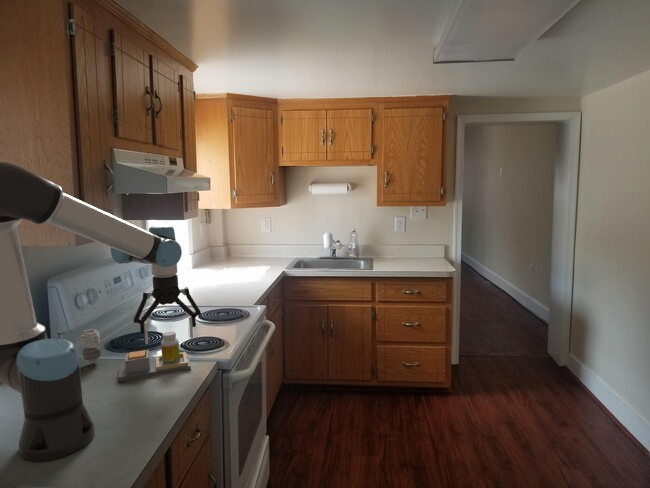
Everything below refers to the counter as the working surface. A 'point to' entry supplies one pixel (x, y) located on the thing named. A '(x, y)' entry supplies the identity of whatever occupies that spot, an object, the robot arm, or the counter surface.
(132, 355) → the switch button
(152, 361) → the base
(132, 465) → the counter surface
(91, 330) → the light bulb
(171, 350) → the supplement bottle
